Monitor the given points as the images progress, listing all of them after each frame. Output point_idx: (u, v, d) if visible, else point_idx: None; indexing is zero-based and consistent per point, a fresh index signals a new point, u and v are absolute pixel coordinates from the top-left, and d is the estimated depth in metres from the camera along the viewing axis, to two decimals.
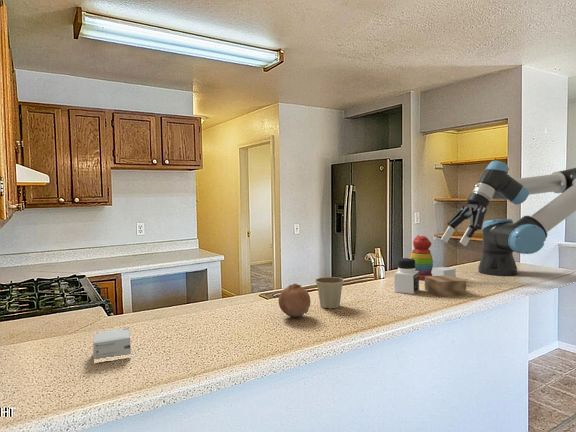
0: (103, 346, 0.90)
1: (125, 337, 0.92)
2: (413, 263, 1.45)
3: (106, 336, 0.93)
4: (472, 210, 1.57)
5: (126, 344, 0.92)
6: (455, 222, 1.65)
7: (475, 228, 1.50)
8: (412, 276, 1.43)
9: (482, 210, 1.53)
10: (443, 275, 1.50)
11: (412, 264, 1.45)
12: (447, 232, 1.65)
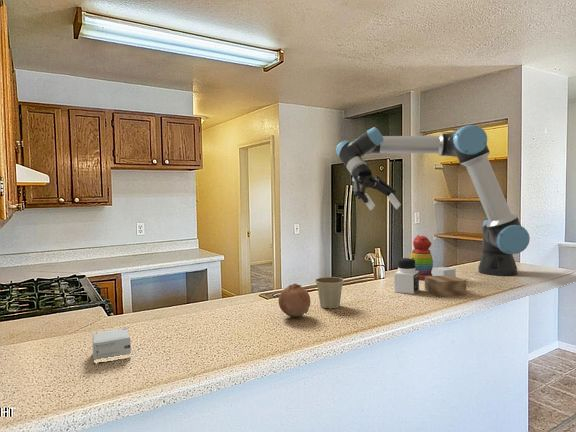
0: (103, 346, 0.90)
1: (126, 337, 0.92)
2: (413, 263, 1.45)
3: (106, 336, 0.93)
4: (361, 184, 1.63)
5: (126, 343, 0.92)
6: (384, 192, 1.63)
7: (359, 195, 1.55)
8: (412, 276, 1.43)
9: (353, 181, 1.60)
10: (443, 275, 1.50)
11: (412, 264, 1.45)
12: (391, 201, 1.61)
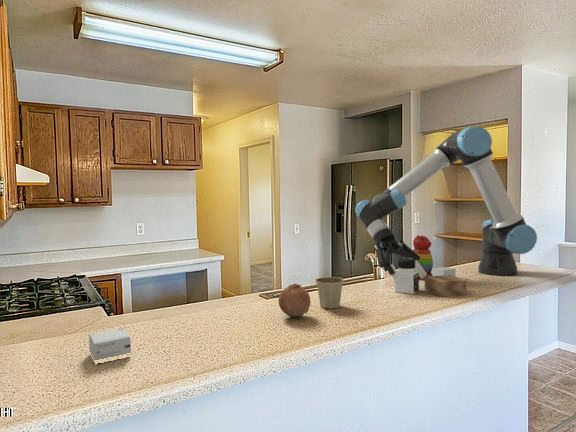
0: (104, 346, 0.90)
1: (126, 337, 0.92)
2: (413, 263, 1.45)
3: (104, 336, 0.93)
4: (384, 251, 1.53)
5: (127, 343, 0.92)
6: None
7: (384, 266, 1.45)
8: (412, 276, 1.43)
9: (376, 249, 1.51)
10: (443, 275, 1.50)
11: (412, 264, 1.45)
12: (416, 269, 1.52)
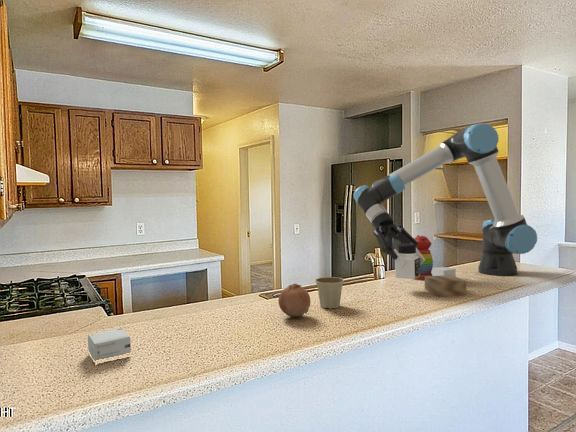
0: (104, 346, 0.89)
1: (126, 336, 0.92)
2: (414, 248, 1.44)
3: (104, 336, 0.92)
4: (383, 235, 1.53)
5: (127, 343, 0.92)
6: None
7: (387, 251, 1.45)
8: (413, 261, 1.42)
9: (376, 234, 1.50)
10: (443, 275, 1.50)
11: (412, 249, 1.44)
12: None
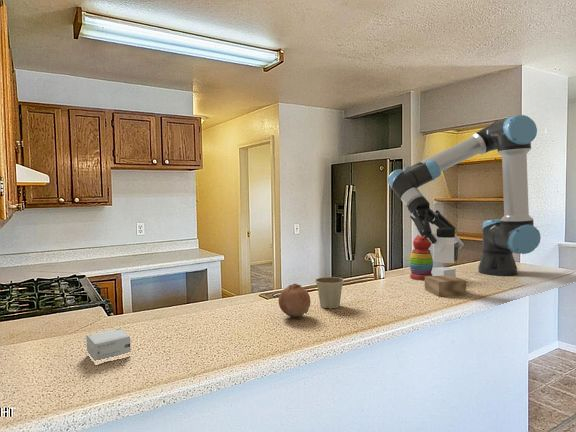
0: (104, 346, 0.89)
1: (125, 336, 0.93)
2: (453, 232, 1.41)
3: (104, 337, 0.92)
4: None
5: (127, 342, 0.92)
6: None
7: (425, 234, 1.42)
8: (453, 245, 1.39)
9: (413, 217, 1.47)
10: (443, 275, 1.50)
11: (452, 233, 1.41)
12: None
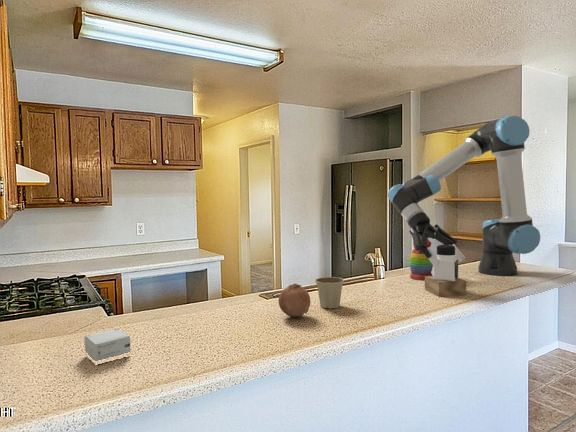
0: (105, 346, 0.89)
1: (125, 336, 0.93)
2: (453, 249, 1.41)
3: (103, 337, 0.92)
4: (419, 235, 1.50)
5: (127, 342, 0.93)
6: (444, 242, 1.50)
7: (420, 249, 1.42)
8: (453, 263, 1.39)
9: (412, 232, 1.47)
10: None
11: (452, 251, 1.41)
12: None
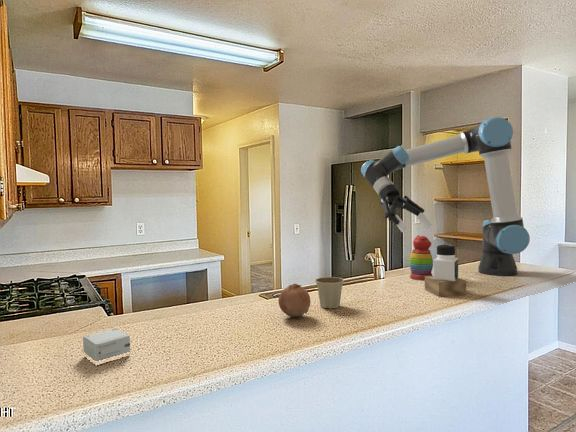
0: (105, 346, 0.89)
1: (125, 336, 0.93)
2: (453, 249, 1.41)
3: (102, 337, 0.92)
4: (389, 205, 1.61)
5: (126, 342, 0.93)
6: (413, 211, 1.62)
7: (389, 216, 1.53)
8: (453, 263, 1.39)
9: (382, 202, 1.59)
10: None
11: (452, 251, 1.41)
12: (421, 221, 1.60)
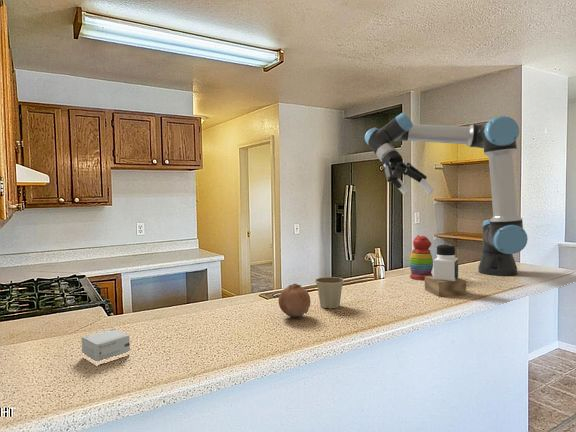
0: (106, 346, 0.89)
1: (125, 335, 0.93)
2: (453, 249, 1.41)
3: (102, 337, 0.92)
4: (392, 170, 1.63)
5: (126, 342, 0.93)
6: (415, 178, 1.63)
7: (391, 180, 1.55)
8: (453, 263, 1.39)
9: (385, 167, 1.60)
10: None
11: (452, 251, 1.41)
12: (423, 187, 1.61)
